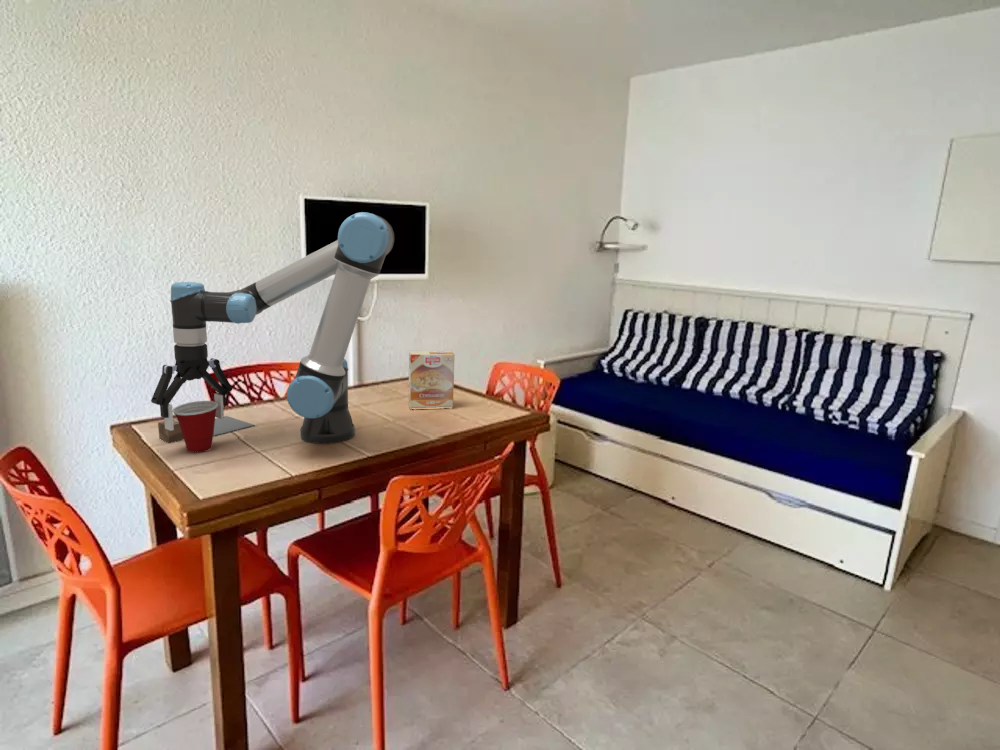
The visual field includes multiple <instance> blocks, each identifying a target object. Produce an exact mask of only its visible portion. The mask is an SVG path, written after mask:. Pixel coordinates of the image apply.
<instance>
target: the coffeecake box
mask: <svg viewBox="0 0 1000 750" xmlns="http://www.w3.org/2000/svg"><path fill="white" fill-rule="evenodd" d="M408 355H409V356H408V407H409V410H410V409H412V408H436V407H454V383H455V379H454V378H455V354H454V352H453V351H452V350H409V351H408Z"/></svg>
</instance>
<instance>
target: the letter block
mask: <svg viewBox="0 0 1000 750" xmlns="http://www.w3.org/2000/svg"><path fill="white" fill-rule="evenodd" d="M157 426H158V427H157V428H158V438H159V439H158V440H160V439H161V440H160V441H162V440H163V441H162V442H165V441H166V442H165V443H167V442H168V444H171V442H172V443H175V441H176V442H179V441H178V440H180V441H183V440H182V439H184V438H183V435H182V431H181V428H180V424H179V421H178V419H177V417H175V418H173V426H174V430H172V431H170V430H168V429H165V421H164V420H162V421H158V422H157Z"/></svg>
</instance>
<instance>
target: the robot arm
mask: <svg viewBox="0 0 1000 750" xmlns="http://www.w3.org/2000/svg"><path fill="white" fill-rule="evenodd" d="M394 243H395V232H394V230H393V227H392V225H391V224H390V223H389V222H388V221H387V220H386V219H385V218H383V217H382V216H380V215H377V214H374V213H370V212H368V211H367V212H365V211H364V212H363V211H361V212H356V213H354V214H352V215H350V216H348V217H346V219H344V221H343V222H342V223H341V225H340V226H339V228H338V233H337V239H336V240H335V241H333V242H331V243H330V244H327V245H325V246H323V247H321V248H320V249H318V250H316V251H313V252H311V253H309V254H307V255H306V256H304V257H302V258H299V259H298V260H295V261H294V262H293V263H291V264H287V265H286V266H285V267H283V268H281V269H279V270H276V271H275V272H273V273H271V274H269V275H267V276H265V277H263V278H261V279H259V280H257V281H256V282H253V283H251V284H250V285H247V286H245V287H243V288H241V289H238V290H233V291H227V292H223V291H221V292H220V291H208V290H207V291H206V289H205V286H204V284H203V283H201V282H195V281H180V282H179V281H178V282H173V283H172V284H171V286H170V300H169V301H170V303H171V316H172V333H173V343H175V345H173V351H174V360H175V363H174V365H167V364H163V365H162V369H161V370H162V371H161V376H160V379H159V380H158V382H157V385H156V387H155V390H154V393H153V395H152V397H151V399H150V402H151V403H152V404H155V405H158V406H159V410H160V416H161V418H163V421H165V429H168V430H170V431H172V430H174V426H173V419H174V413H173V411H172V409H173V405H172V404H170V403H171V401H172V400H173V399H174V397H175V395H176V394H177V392H178V391H179V390H180V389H181V387H182V386H183V385H184V384H185V383H186V382H187V381H194V380H200V379H201V378H202V379H203V380H204V381H205V382H206V383H207V384H208V386H210V387H211V388H212V389H213V390H215V392H217V393H214V396H213V397H214V402H217V403H218V407H217V409H216V416H215V418H220V419H224V416H225V415H224V406H226V404H227V401H226V400H227V399H226V396H227V395H228V394H229V392H232V390H233V387H232V385H231V382H229V380H228V378H227V377H226V376H227V375H225V373H224V371H223V369H222V367H221V363H220V360H219V359H217V358H212V357H211V358H210V359H209V360H208V357H209V355H208V353H209V352H208V345H207V342H208V336H207V335H208V333H207V322H214V323H215V322H216V323H232V324H238V325H239V324H249V323H250V324H251V323H252V322H253V321H254V320H255V318H256V316H257V315H260V314H261V313H263V311H265V310H266V309H269V308H271V307H273V306H274V305H276V304H279V303H280V302H283V301H284V300H286V299H288V298H291V297H292V296H294V295H297V294H298V293H300V292H302V291H304V290H306V289H308V288H310V287H312V286H314V285H316V284H319V283H320V282H322V281H324V280H326V279H328V278H330V277H332V276H333V275H334V276H333V277H334V278H333V280H332V283H331V286H330V289H329V293H328V296H327V299H326V300H325V301H326V302H325V305H324V308H323V311H322V314H321V317H320V320H319V323H318V326H317V329H316V333H315V335H314V339H313V342H312V344H311V348H310V351H309V354H307V355H306V356H304V357H302V358H300V362H299V365H298V367H297V370H296V374H295V377H294V378H293V379H292V380H291V382H290V383H289V384H288V387H287V391H286V401H287V403H288V406H289V407H290V408H291V410H292V411H293V412H294V413H295V414H296V415H298V416H300V417H302V418H303V420H302V421H303V422H302V424H301V426H300V427H301V428H300V431H299V432H300V439H302V440H303V441H305V442H308V443H313V444H337V443H340V442H341V443H342V442H345V441H348V440H350V439H352V438H353V437H354V436H355V433H356V428H355V425H354V422H353V419H352V416H351V413H350V411H349V367H348V360H346V354H347V351H348V348H349V345H350V343H351V340H352V336H353V334H354V330H355V328H356V325H357V321H358V318H359V315H360V312H361V309H362V307H363V303H364V302H365V297H366V295H367V292H368V289H369V286H370V283H371V280H372V279H374V278H375V277H378V276H380V273H381V270H382V267H383V264H384V261H385V259H386V256H387V255H389V253H390V252H391V251H392V249H393V248H394V247H393V246H394ZM208 368H211V370H212V372H213V374H214V376H215V377H216V378H217V380H215V378H213V377H212V375H211V374H210V373H209V372H208V371H207V370H208ZM175 372H176V375H174V377H173V374H175ZM172 378H173V380H172ZM171 380H172V381H171ZM217 381H218V382H217ZM170 382H171V383H170Z"/></svg>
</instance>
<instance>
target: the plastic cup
mask: <svg viewBox="0 0 1000 750" xmlns="http://www.w3.org/2000/svg"><path fill="white" fill-rule="evenodd" d="M217 407H218V403H217V402H215V400H214V401H213V400H196V401H189V402H185V403H182V404H179V405H177V406H174V408H172V411H173V415H174V416H175V418H177V419H178V421H179V424H180V428H181V431H182V435H183V438H184V443H185V447H186V449H187V452H189V453H202V452H206V451H209V450H211V449H212V446H213V439H214V437H213V434H214V424H215V419H216V417H215V416H216V409H217Z"/></svg>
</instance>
